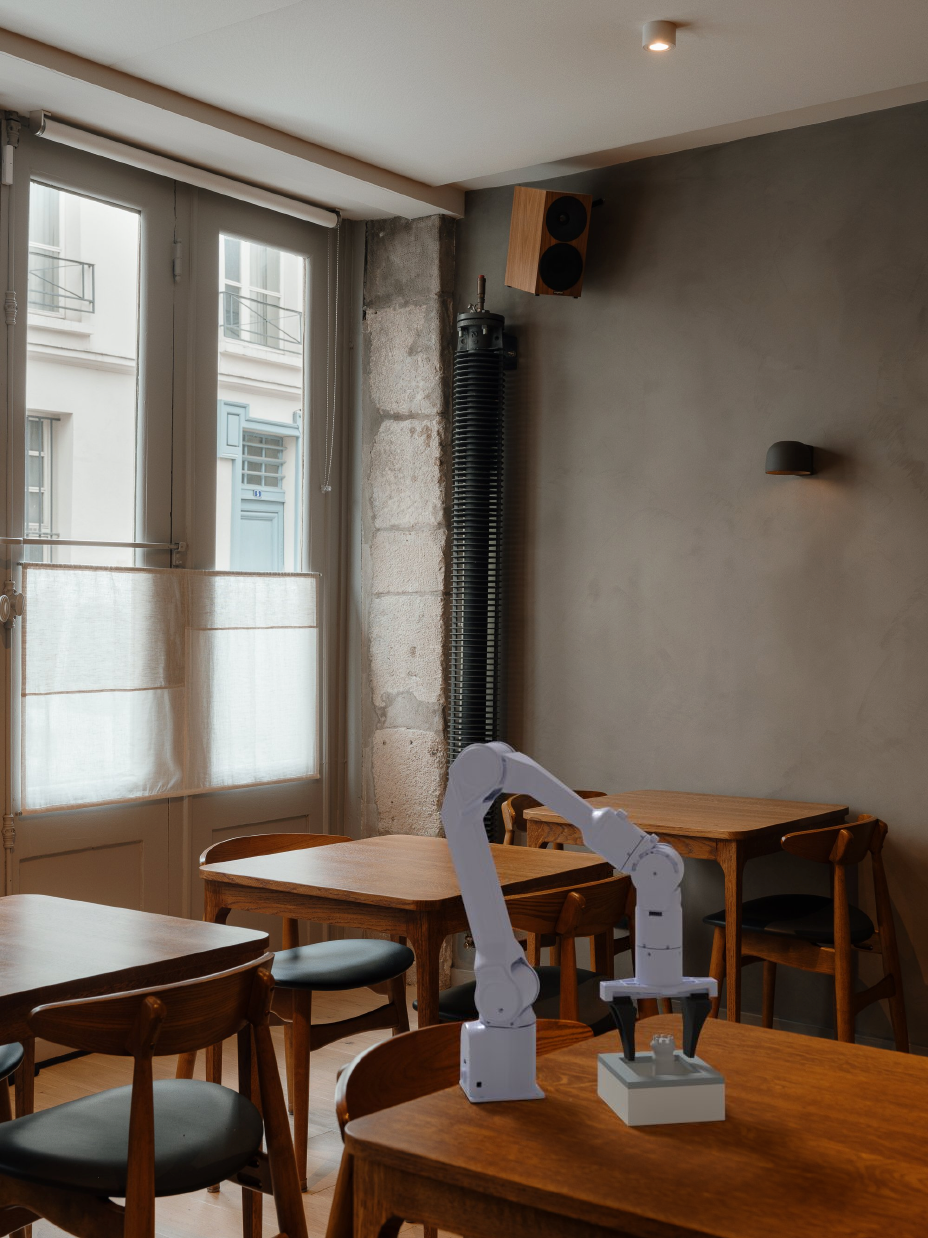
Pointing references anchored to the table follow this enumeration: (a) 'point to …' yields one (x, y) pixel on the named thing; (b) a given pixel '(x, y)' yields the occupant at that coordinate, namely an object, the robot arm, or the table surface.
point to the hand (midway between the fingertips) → (659, 1057)
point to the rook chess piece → (663, 1055)
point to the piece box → (661, 1089)
